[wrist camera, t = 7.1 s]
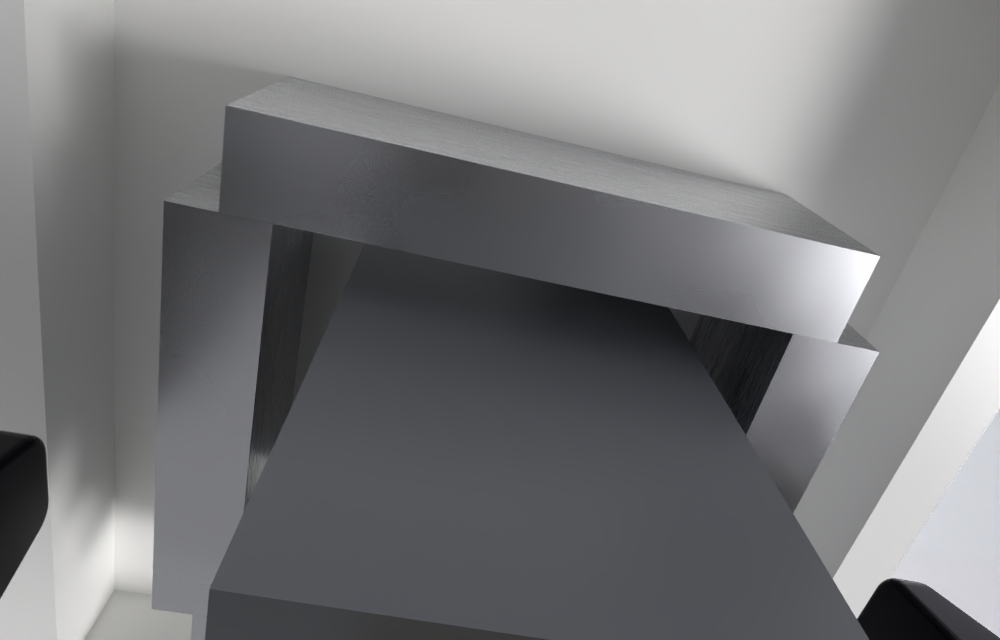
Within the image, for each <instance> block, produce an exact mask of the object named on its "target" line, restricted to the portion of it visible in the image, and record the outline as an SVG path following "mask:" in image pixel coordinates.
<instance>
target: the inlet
mask: <svg viewBox="0 0 1000 640" xmlns="http://www.w3.org/2000/svg"><path fill="white" fill-rule="evenodd" d="M314 233H319V234H324V235H328V236H333V237H338V238H343V239H347V240H352V241H357V242H362V243H366V244H371V245H376V246H380V247H385V248H390V249H395V250H399V251H404V252H409V253H414V254H418V255H423V256H428V257H432V258H437V259H442V260H447V261H451V262H456V263H461V264H466V265H470V266H475V267H480V268H485V269H489V270H494V271H499V272H503V273H508V274H513V275H518V276H522V277H527V278H532V279H537V280H541V281H546V282H551V283H555V284H560V285H565V286H570V287H574V288H579V289H584V290H589V291H593V292H598V293H603V294H607V295H612V296H617V297H622V298H626V299H631V300H636V301H641V302H645V303H650V304H655V305H660V306H664V307H669V308H674V309H678V310H683V311H688V312H693V313H697V314H700V316H699V319H698V322H697V324H696V327H695V329H694V332H693V334H692V337H691V339H690V343H691V345H692V347H693V348H694V350H695V352H696V353H697V355H698V357H699V358H700V360H701V362H702V363H703V365H704V367H705V368H706V370H707V372H708V373H709V375H710V377H711V378H712V380H713V382H714V383H715V385H716V387H717V388H718V390H719V392H720V393H721V395H722V397H723V398H724V400H725V401H726V403H727V405H728V406H729V408H730V410H731V411H732V413H733V415H734V416H735V418H736V420H737V421H738V423H739V425H740V426H741V428H742V430H743V431H744V433H745V435H746V436H747V438H748V440H749V441H750V443H751V445H752V446H753V448H754V450H755V451H756V453H757V454H758V456H759V458H760V459H761V461H762V463H763V464H764V466H765V468H766V469H767V471H768V473H769V474H770V476H771V478H772V479H773V481H774V483H775V484H776V486H777V488H778V489H779V491H780V493H781V494H782V496H783V498H784V499H785V501H786V503H787V504H788V506H789V508H790V509H791V511H792V512H793V513H794V511H795V509H796V507H797V505H798V503H799V502H800V500H801V498H802V496H803V494H804V492H805V490H806V489H807V487H808V485H809V483H810V481H811V479H812V477H813V475H814V474H815V472H816V470H817V468H818V466H819V464H820V462H821V460H822V459H823V457H824V455H825V453H826V451H827V449H828V447H829V446H830V444H831V442H832V440H833V438H834V436H835V434H836V432H837V431H838V429H839V427H840V425H841V423H842V421H843V419H844V418H845V416H846V414H847V412H848V410H849V408H850V406H851V404H852V403H853V401H854V399H855V397H856V395H857V393H858V391H859V389H860V388H861V386H862V384H863V382H864V380H865V378H866V376H867V375H868V373H869V371H870V369H871V367H872V365H873V363H874V361H875V360H876V358H877V356H878V354H879V351H878V350H877V349H876V348H875V347H873V346H872V345H871V344H870V343H869V342H868V341H867V340H866V339H864V338H863V337H862V336H861V335H860V334H859V333H858V332H857V331H856V330H854V329H853V328H852V327H851V326H850V325H849V324H848V323H847V322H848V320H849V318H850V316H851V314H852V312H853V310H854V308H855V306H856V304H857V302H858V300H859V298H860V296H861V294H862V292H863V290H864V288H865V286H866V284H867V282H868V280H869V278H870V276H871V274H872V272H873V270H874V268H875V266H876V264H877V262H878V260H879V258H880V256H879V255H878V254H876V253H875V252H873V251H872V250H870V249H869V248H867V247H866V246H864V245H863V244H861V243H859V242H858V241H856V240H855V239H853V238H852V237H850V236H849V235H847V234H846V233H844V232H843V231H841V230H840V229H838V228H837V227H835V226H834V225H832V224H831V223H829V222H828V221H826V220H824V219H823V218H821V217H820V216H818V215H817V214H815V213H814V212H812V211H811V210H809V209H808V208H806V207H805V206H803V205H802V204H800V203H799V202H797V201H796V200H794V199H793V198H791V197H790V196H788V195H786V194H781V193H777V192H773V191H769V190H765V189H760V188H756V187H752V186H748V185H744V184H740V183H735V182H731V181H727V180H723V179H719V178H714V177H710V176H706V175H702V174H698V173H693V172H689V171H685V170H681V169H677V168H672V167H668V166H664V165H660V164H656V163H652V162H647V161H643V160H639V159H635V158H631V157H626V156H622V155H618V154H614V153H610V152H605V151H601V150H597V149H593V148H589V147H585V146H580V145H576V144H572V143H568V142H564V141H559V140H555V139H551V138H547V137H543V136H538V135H534V134H530V133H526V132H522V131H517V130H513V129H509V128H505V127H501V126H497V125H492V124H488V123H484V122H480V121H476V120H471V119H467V118H463V117H459V116H455V115H450V114H446V113H442V112H438V111H434V110H430V109H425V108H421V107H417V106H413V105H409V104H404V103H400V102H396V101H392V100H388V99H383V98H379V97H375V96H371V95H367V94H362V93H358V92H354V91H350V90H346V89H342V88H337V87H333V86H329V85H325V84H321V83H316V82H312V81H308V80H304V79H300V78H295V77H291V76H289V77H287V78H285V79H283V80H281V81H278V82H276V83H274V84H272V85H269V86H267V87H265V88H263V89H260V90H258V91H256V92H254V93H252V94H249V95H247V96H245V97H243V98H240V99H238V100H236V101H234V102H232V103H229V104H227V105H226V107H225V122H224V137H223V153H222V162H221V163H220V164H218V165H217V166H215V167H214V168H212V169H211V170H209V171H208V172H206V173H205V174H203V175H202V176H200V177H199V178H197V179H196V180H194V181H193V182H191V183H190V184H188V185H187V186H185V187H184V188H182V189H181V190H179V191H178V192H176V193H175V194H173V195H172V196H170V197H169V198H167V199H166V200H164V211H163V245H162V278H161V312H160V345H159V379H158V412H157V446H156V479H155V513H154V546H153V580H152V609H156V610H163V611H170V612H178V613H185V614H192V629H191V640H205V632H206V621H207V609H208V598H209V589H210V586H211V584H212V582H213V580H214V577H215V575H216V573H217V571H218V569H219V566H220V564H221V562H222V560H223V557H224V555H225V553H226V551H227V549H228V546H229V544H230V542H231V540H232V537H233V535H234V533H235V531H236V529H237V526H238V524H239V522H240V520H241V517H242V515H243V513H244V511H245V509H246V506H247V504H248V502H249V500H250V497H251V495H252V493H253V491H254V489H255V486H256V484H257V482H258V480H259V477H260V475H261V473H262V471H263V469H264V466H265V464H266V462H267V460H268V457H269V455H270V453H271V451H272V449H273V446H274V444H275V442H276V440H277V437H278V435H279V433H280V431H281V429H282V426H283V424H284V422H285V420H286V417H287V415H288V413H289V411H290V409H291V406H292V399H293V391H294V384H295V376H296V368H297V360H298V352H299V344H300V336H301V329H302V321H303V313H304V305H305V297H306V289H307V282H308V274H309V266H310V258H311V250H312V242H313V234H314Z"/></svg>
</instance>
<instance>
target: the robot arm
mask: <svg viewBox="0 0 1000 640" xmlns="http://www.w3.org/2000/svg"><path fill="white" fill-rule="evenodd" d="M48 503H49V497H48V478H47V459H46V449H45V445H44V443H43V441H42V440H41V439H40V438H38V437H37V436H34V435H28V434H22V433H16V432H10V431H4V430H0V599H1V597H2V596H3V594H4V592H5V590H6V589H7V587H8V585H9V583H10V582H11V580H12V578H13V576H14V575H15V573H16V571H17V569H18V568H19V566H20V564H21V562H22V561H23V559H24V557H25V555H26V554H27V552H28V550H29V548H30V547H31V545H32V543H33V541H34V540H35V538H36V536H37V534H38V533H39V531H40V529H41V527H42V525H43V523H44V520H45V518H46V514H47V511H48ZM857 620H858V622H859V623H860V625H861V627H862V628H863V630H864V632H865V633H866V635H867V637H868V638H869V640H1000V638H999V637H998V636H996V635H995V634H993V633H992V632H991V631H989V630H988V629H987V628H985V627H984V626H982V625H981V624H980V623H978V622H977V621H976V620H974V619H973V618H972V617H970V616H969V615H967V614H966V613H965V612H963V611H962V610H961V609H959V608H958V607H956V606H955V605H954V604H952V603H951V602H950V601H948V600H947V599H945V598H944V597H943V596H941V595H940V594H939V593H937V592H936V591H934V590H933V589H932V588H930V587H929V586H927V585H925V584H922V583H919V582H914V581H908V580H901V579H895V578H891V579H886V580H885V581H883V582H881V583H880V584H879V585H878V587H877V588H876V590H875V591H874V593H873V594H872V596H871V598H870V599H869V601H868V602H867V604H866V605H865V607H864V609H863V610H862V612H861V613H860V615H859V616H858V618H857Z"/></svg>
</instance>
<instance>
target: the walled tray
mask: <svg viewBox="0 0 1000 640" xmlns="http://www.w3.org/2000/svg"><path fill="white" fill-rule="evenodd" d="M289 76H291V77H295V78H300V79H304V80H308V81H312V82H316V83H321V84H325V85H329V86H333V87H337V88H342V89H346V90H350V91H354V92H358V93H362V94H367V95H371V96H375V97H379V98H383V99H388V100H392V101H396V102H400V103H404V104H409V105H413V106H417V107H421V108H425V109H430V110H434V111H438V112H442V113H446V114H450V115H455V116H459V117H463V118H467V119H471V120H476V121H480V122H484V123H488V124H492V125H497V126H501V127H505V128H509V129H513V130H517V131H522V132H526V133H530V134H534V135H538V136H543V137H547V138H551V139H555V140H559V141H564V142H568V143H572V144H576V145H580V146H585V147H589V148H593V149H597V150H601V151H605V152H610V153H614V154H618V155H622V156H626V157H631V158H635V159H639V160H643V161H647V162H652V163H656V164H660V165H664V166H668V167H672V168H677V169H681V170H685V171H689V172H693V173H698V174H702V175H706V176H710V177H714V178H719V179H723V180H727V181H731V182H735V183H740V184H744V185H748V186H752V187H756V188H760V189H765V190H769V191H773V192H777V193H781V194H786V195H788V196H790V197H791V198H793V199H794V200H796V201H797V202H799V203H800V204H802V205H803V206H805V207H806V208H808V209H809V210H811V211H812V212H814V213H815V214H817V215H818V216H820V217H821V218H823V219H824V220H826V221H828V222H829V223H831V224H832V225H834V226H835V227H837V228H838V229H840V230H841V231H843V232H844V233H846V234H847V235H849V236H850V237H852V238H853V239H855V240H856V241H858V242H859V243H861V244H863V245H864V246H866V247H867V248H869V249H870V250H872V251H873V252H875V253H876V254H878V255H879V256H880V258H879V260H878V262H877V264H876V266H875V268H874V270H873V272H872V274H871V276H870V278H869V280H868V282H867V284H866V286H865V288H864V290H863V292H862V294H861V296H860V298H859V300H858V302H857V304H856V306H855V308H854V310H853V312H852V314H851V316H850V318H849V320H848V322H847V323H848V324H849V325H850V326H851V327H852V328H853V329H854V330H856V331H857V332H858V333H859V334H860V335H861V336H862V337H863V338H864V339H866V340H867V341H868V342H869V343H870V344H871V345H872V346H873V347H875V348H876V349H877V350H878V351H879V354H878V356H877V358H876V360H875V361H874V363H873V365H872V367H871V369H870V371H869V373H868V375H867V376H866V378H865V380H864V382H863V384H862V386H861V388H860V389H859V391H858V393H857V395H856V397H855V399H854V401H853V403H852V404H851V406H850V408H849V410H848V412H847V414H846V416H845V418H844V419H843V421H842V423H841V425H840V427H839V429H838V431H837V432H836V434H835V436H834V438H833V440H832V442H831V444H830V446H829V447H828V449H827V451H826V453H825V455H824V457H823V459H822V460H821V462H820V464H819V466H818V468H817V470H816V472H815V474H814V475H813V477H812V479H811V481H810V483H809V485H808V487H807V489H806V490H805V492H804V494H803V496H802V498H801V500H800V502H799V503H798V505H797V507H796V509H795V511H794V513H793V514H794V516H795V517H796V519H797V521H798V522H799V524H800V526H801V527H802V529H803V531H804V532H805V534H806V536H807V537H808V539H809V541H810V542H811V544H812V546H813V547H814V549H815V551H816V552H817V554H818V556H819V557H820V559H821V561H822V562H823V564H824V566H825V567H826V569H827V570H828V572H829V574H830V575H831V577H832V579H833V580H834V582H835V584H836V585H837V587H838V589H839V590H840V592H841V594H842V595H843V597H844V599H845V600H846V602H847V604H848V605H849V607H850V609H851V610H852V612H853V614H854V615H855V617H856V619H857V618H858V616H859V615H860V613H861V612H862V610H863V609H864V607H865V605H866V604H867V602H868V601H869V599H870V598H871V596H872V594H873V593H874V591H875V590H876V588H877V587H878V585H879V584H880V583H881V582H883V581H885V580H886V579H890V578H891V576H892V574H893V573H894V571H895V570H896V568H897V567H898V565H899V564H900V562H901V561H902V559H903V557H904V556H905V554H906V553H907V551H908V550H909V548H910V547H911V545H912V543H913V542H914V540H915V539H916V537H917V536H918V534H919V533H920V531H921V529H922V528H923V526H924V525H925V523H926V522H927V520H928V519H929V517H930V516H931V514H932V512H933V511H934V509H935V508H936V506H937V505H938V503H939V502H940V500H941V498H942V497H943V495H944V494H945V492H946V491H947V489H948V488H949V486H950V485H951V483H952V481H953V480H954V478H955V477H956V475H957V474H958V472H959V471H960V469H961V467H962V466H963V464H964V463H965V461H966V460H967V458H968V457H969V455H970V453H971V452H972V450H973V449H974V447H975V446H976V444H977V443H978V441H979V440H980V438H981V436H982V435H983V433H984V432H985V430H986V429H987V427H988V426H989V424H990V422H991V421H992V419H993V418H994V416H995V415H996V413H997V412H998V410H999V409H1000V0H0V430H4V431H10V432H16V433H22V434H28V435H34V436H37V437H38V438H40V439H41V440H42V441H43V443H44V445H45V449H46V459H47V478H48V497H49V503H48V511H47V514H46V518H45V520H44V523H43V525H42V527H41V529H40V531H39V533H38V534H37V536H36V538H35V540H34V541H33V543H32V545H31V547H30V548H29V550H28V552H27V554H26V555H25V557H24V559H23V561H22V562H21V564H20V566H19V568H18V569H17V571H16V573H15V575H14V576H13V578H12V580H11V582H10V583H9V585H8V587H7V589H6V590H5V592H4V594H3V596H2V597H1V599H0V640H191V629H192V614H185V613H178V612H170V611H163V610H156V609H152V580H153V546H154V513H155V479H156V446H157V412H158V379H159V345H160V312H161V278H162V245H163V211H164V200H166V199H167V198H169V197H170V196H172V195H173V194H175V193H176V192H178V191H179V190H181V189H182V188H184V187H185V186H187V185H188V184H190V183H191V182H193V181H194V180H196V179H197V178H199V177H200V176H202V175H203V174H205V173H206V172H208V171H209V170H211V169H212V168H214V167H215V166H217V165H218V164H220V163H221V162H222V153H223V137H224V122H225V107H226V105H227V104H229V103H232V102H234V101H236V100H238V99H240V98H243V97H245V96H247V95H249V94H252V93H254V92H256V91H258V90H260V89H263V88H265V87H267V86H269V85H272V84H274V83H276V82H278V81H281V80H283V79H285V78H287V77H289ZM364 244H365V243H362V242H357V241H352V240H347V239H343V238H338V237H333V236H328V235H324V234H319V233H314V234H313V242H312V250H311V258H310V266H309V274H308V282H307V289H306V297H305V305H304V313H303V321H302V329H301V336H300V344H299V352H298V360H297V368H296V376H295V384H294V391H293V399H292V404H293V402H294V400H295V397H296V395H297V393H298V391H299V389H300V386H301V384H302V382H303V380H304V378H305V375H306V373H307V371H308V369H309V366H310V364H311V362H312V360H313V358H314V355H315V353H316V351H317V349H318V346H319V344H320V342H321V340H322V338H323V335H324V333H325V331H326V329H327V326H328V324H329V322H330V320H331V318H332V315H333V313H334V311H335V309H336V306H337V304H338V302H339V300H340V298H341V295H342V293H343V291H344V289H345V286H346V284H347V282H348V280H349V278H350V275H351V273H352V271H353V269H354V266H355V264H356V262H357V260H358V258H359V255H360V253H361V251H362V249H363V246H364ZM669 309H670V310H671V312H672V314H673V315H674V317H675V319H676V320H677V322H678V324H679V325H680V327H681V329H682V330H683V332H684V334H685V335H686V337H687V339H688V340H689V342H690V339H691V337H692V334H693V332H694V329H695V327H696V324H697V322H698V319H699V316H700V314H697V313H693V312H688V311H683V310H678V309H674V308H669Z"/></svg>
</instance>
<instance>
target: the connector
mask: <svg viewBox="0 0 1000 640" xmlns="http://www.w3.org/2000/svg"><path fill="white" fill-rule="evenodd" d="M205 640H869V638H868V637H867V635H866V633H865V632H864V630H863V628H862V627H861V625H860V623H859V622H858V620H857V619H856V617H855V615H854V614H853V612H852V610H851V609H850V607H849V605H848V604H847V602H846V600H845V599H844V597H843V595H842V594H841V592H840V590H839V589H838V587H837V585H836V584H835V582H834V580H833V579H832V577H831V575H830V574H829V572H828V570H827V569H826V567H825V566H824V564H823V562H822V561H821V559H820V557H819V556H818V554H817V552H816V551H815V549H814V547H813V546H812V544H811V542H810V541H809V539H808V537H807V536H806V534H805V532H804V531H803V529H802V527H801V526H800V524H799V522H798V521H797V519H796V517H795V516H794V514H793V512H792V511H791V509H790V508H789V506H788V504H787V503H786V501H785V499H784V498H783V496H782V494H781V493H780V491H779V489H778V488H777V486H776V484H775V483H774V481H773V479H772V478H771V476H770V474H769V473H768V471H767V469H766V468H765V466H764V464H763V463H762V461H761V459H760V458H759V456H758V454H757V453H756V451H755V450H754V448H753V446H752V445H751V443H750V441H749V440H748V438H747V436H746V435H745V433H744V431H743V430H742V428H741V426H740V425H739V423H738V421H737V420H736V418H735V416H734V415H733V413H732V411H731V410H730V408H729V406H728V405H727V403H726V401H725V400H724V398H723V397H722V395H721V393H720V392H719V390H718V388H717V387H716V385H715V383H714V382H713V380H712V378H711V377H710V375H709V373H708V372H707V370H706V368H705V367H704V365H703V363H702V362H701V360H700V358H699V357H698V355H697V353H696V352H695V350H694V348H693V347H692V345H691V343H690V342H689V340H688V339H687V337H686V335H685V334H684V332H683V330H682V329H681V327H680V325H679V324H678V322H677V320H676V319H675V317H674V315H673V314H672V312H671V310H670V309H669V307H664V306H660V305H655V304H650V303H645V302H641V301H636V300H631V299H626V298H622V297H617V296H612V295H607V294H603V293H598V292H593V291H589V290H584V289H579V288H574V287H570V286H565V285H560V284H555V283H551V282H546V281H541V280H537V279H532V278H527V277H522V276H518V275H513V274H508V273H503V272H499V271H494V270H489V269H485V268H480V267H475V266H470V265H466V264H461V263H456V262H451V261H447V260H442V259H437V258H432V257H428V256H423V255H418V254H414V253H409V252H404V251H399V250H395V249H390V248H385V247H380V246H376V245H371V244H366V243H365V244H364V246H363V249H362V251H361V253H360V255H359V258H358V260H357V262H356V264H355V266H354V269H353V271H352V273H351V275H350V278H349V280H348V282H347V284H346V286H345V289H344V291H343V293H342V295H341V298H340V300H339V302H338V304H337V306H336V309H335V311H334V313H333V315H332V318H331V320H330V322H329V324H328V326H327V329H326V331H325V333H324V335H323V338H322V340H321V342H320V344H319V346H318V349H317V351H316V353H315V355H314V358H313V360H312V362H311V364H310V366H309V369H308V371H307V373H306V375H305V378H304V380H303V382H302V384H301V386H300V389H299V391H298V393H297V395H296V397H295V400H294V402H293V404H292V406H291V409H290V411H289V413H288V415H287V417H286V420H285V422H284V424H283V426H282V429H281V431H280V433H279V435H278V437H277V440H276V442H275V444H274V446H273V449H272V451H271V453H270V455H269V457H268V460H267V462H266V464H265V466H264V469H263V471H262V473H261V475H260V477H259V480H258V482H257V484H256V486H255V489H254V491H253V493H252V495H251V497H250V500H249V502H248V504H247V506H246V509H245V511H244V513H243V515H242V517H241V520H240V522H239V524H238V526H237V529H236V531H235V533H234V535H233V537H232V540H231V542H230V544H229V546H228V549H227V551H226V553H225V555H224V557H223V560H222V562H221V564H220V566H219V569H218V571H217V573H216V575H215V577H214V580H213V582H212V584H211V586H210V589H209V598H208V609H207V621H206V632H205Z"/></svg>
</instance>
